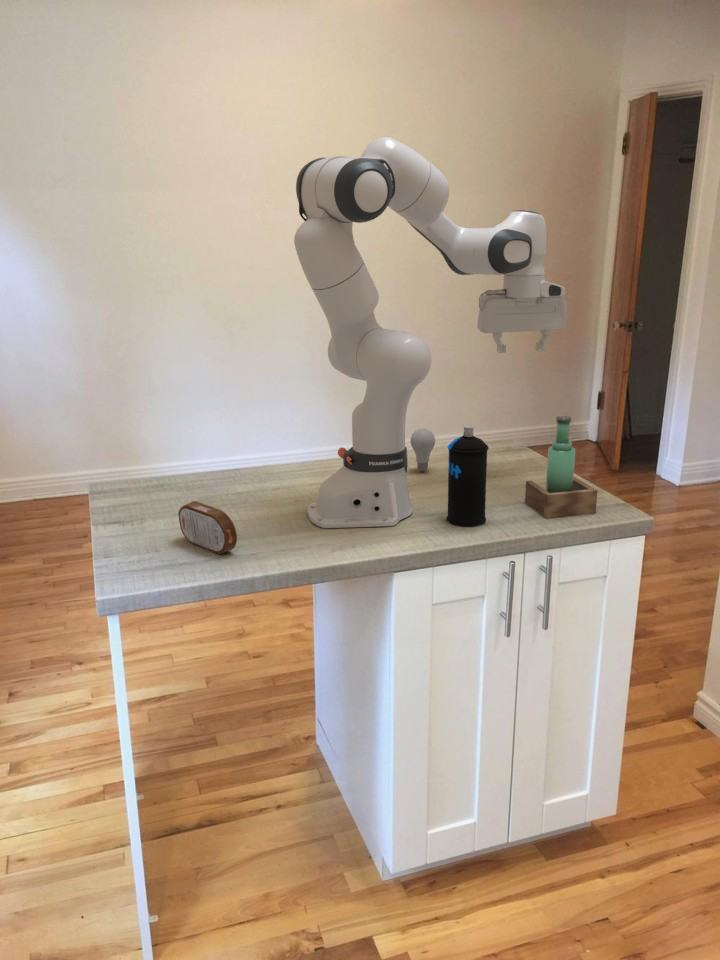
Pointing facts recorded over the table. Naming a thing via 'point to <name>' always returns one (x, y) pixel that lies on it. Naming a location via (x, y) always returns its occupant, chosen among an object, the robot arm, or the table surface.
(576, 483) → the u rest
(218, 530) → the tin
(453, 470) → the aerosol can
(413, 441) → the lightbulb
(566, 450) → the bottle
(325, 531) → the table surface
